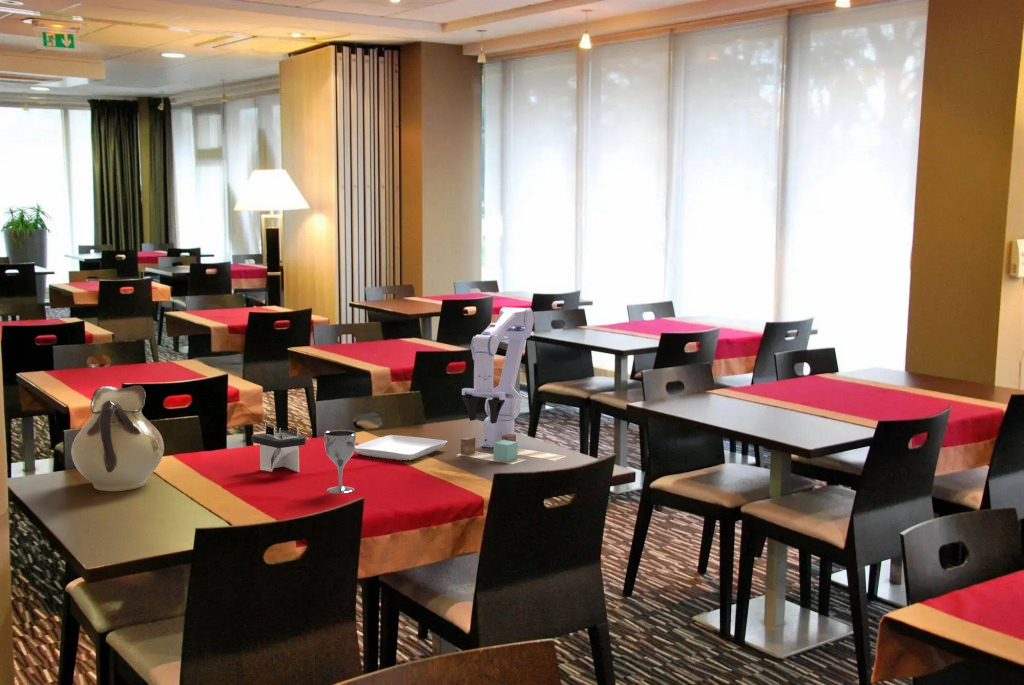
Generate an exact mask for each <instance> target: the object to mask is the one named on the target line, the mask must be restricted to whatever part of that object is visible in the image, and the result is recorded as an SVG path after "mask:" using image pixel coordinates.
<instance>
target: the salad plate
mask: <svg viewBox="0 0 1024 685" xmlns="http://www.w3.org/2000/svg"><path fill="white" fill-rule="evenodd" d="M447 443H448V440H443V439H435V438H434V439H433V438H427V437H418V436H417V437H416V436H408V435H407V436H405V435H397V434H396V435H394V434H389V435H385V436H381V437H378V438H377V437H376V438H374V439H371V440H369V441H365V442H363V443H359V444H357V445H356V444H355V449H354V452H355V453H358V454H360V455H362V456H365V457H366V456H367V457H371V456H372V457H371V458H378V457H379V458H380V459H385V458H386V459H387V460H393V459H395V460H394V461H401V460H406V461H407V460H409V461H413V460H417V459H419V458H421V456H422V457H425V456H427V455H430V454H432V453H434V452H436V451H438V450H440V449H442V448H443V447H444V446H446V445H447ZM424 455H425V456H424ZM386 459H385V460H386ZM406 461H405V462H406Z"/></svg>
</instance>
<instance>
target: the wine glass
mask: <svg viewBox="0 0 1024 685" xmlns="http://www.w3.org/2000/svg"><path fill="white" fill-rule="evenodd" d="M323 435H324V436H323V437H324V439H323V441H324V448H325V452H326V455H327V457H328V458H329V459H330V460H331V462H333V463H334V465H335V466H336V467H337V468H336V469H337V473H338V485H337V486H334V487H328V488H327V489H326V492H327V493H330V494H334V495H335V494H336V495H337V494H338V495H344V494H350V493H353V492H355V488H353V487H351V486H346V485H345V486H344V485H343V470H344V467H345V465H346V464H347V462H348V461H349V460H350V459H351V457H353V455H354V453H355V451H354V449H355V446H356V442H357V440H356V439H357V436H356V431H355V430H350V429H333V430H327V431H325V432H324V434H323Z"/></svg>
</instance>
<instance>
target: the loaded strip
mask: <svg viewBox="0 0 1024 685" xmlns="http://www.w3.org/2000/svg"><path fill="white" fill-rule="evenodd" d="M459 457H468V458H474V459H479V460H485V461H491V462H498V463H503V464H510V465H514V464H518V463H521V462H524V461H525V462H526V461H527V459H525V458H519V457H518V459H516V460H513V461H510V462H503V461H497V460H493V453H488V452H483V451H482V452H481V451H476V437H474V436H473V437H472V436H466V437H463V438H460V453H458V454H456V458H459Z"/></svg>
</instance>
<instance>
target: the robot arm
mask: <svg viewBox="0 0 1024 685" xmlns="http://www.w3.org/2000/svg"><path fill="white" fill-rule="evenodd" d="M534 314H535V313H534V312H533V310H532V308H531V307H509V306H508V307H507V306H502V308H500V310H499V313H498V319H497V321H496V322H491V323H489V325H488V326H487V327H486V328H485V329H484V330H483V331H482V332H481V333H480V334H476V335H473V337H472V339H471V342H470V350H471V354H472V357H471V358H472V360H473V365H474V366H473V367H474V368H473V388H470V387H464V388H462V389H461V395H462V397H461V400H462V402H463V403H464V405H465V408H466V410H467V414H468V419H469V421H471V422H472V421H476V420H477V419H476V418H477V408H478V401H479V398H486V399H485V404H484V411H485V412H486V413H485V414H486V415H487V417H486V418H484V420H483V423H482V443H481V444H480V446H481V447H486V448H493V443H494V442H498V441H501V440H502V436H503V435H506V434H515V420H516V418H517V417H518V416H519V415H520V413H521V405H522V404H521V401H522V396H521V394H520V393H519V392H518V391H517V390H516V389H515V387H516V384H517V379H518V376H519V369H520V366H521V360H522V357H523V354H524V353H523V352H524V349H525V343H526V339H528V338H530V337H531V334H532V331H533V327H534V322H535V316H534ZM505 337H506V338H508V339H509V340H508V344H507V349H506V353H505V357H504V360H503V361H504V362H503V366H502V370H501V375H500V379H499V383H498V385H496V386H495V387H494V376H495V374H494V368H495V367H494V364H495V355H496V354H497V352H498V347H499V345H500V342H501V341H502V340H504V338H505Z"/></svg>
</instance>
